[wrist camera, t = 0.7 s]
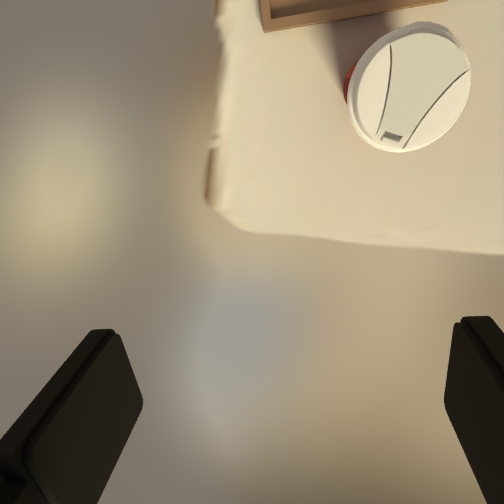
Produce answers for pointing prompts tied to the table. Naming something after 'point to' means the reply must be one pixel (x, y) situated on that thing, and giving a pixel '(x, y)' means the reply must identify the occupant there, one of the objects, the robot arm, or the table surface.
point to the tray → (325, 10)
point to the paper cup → (408, 87)
